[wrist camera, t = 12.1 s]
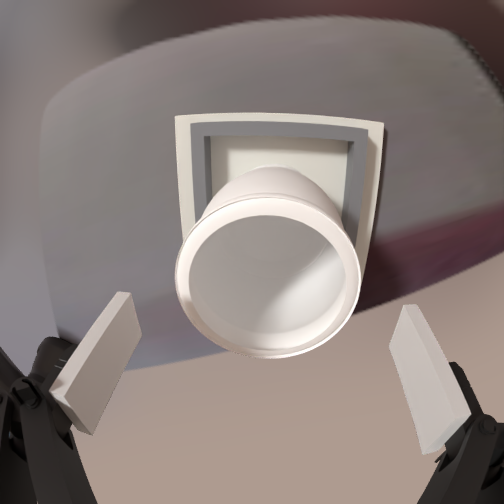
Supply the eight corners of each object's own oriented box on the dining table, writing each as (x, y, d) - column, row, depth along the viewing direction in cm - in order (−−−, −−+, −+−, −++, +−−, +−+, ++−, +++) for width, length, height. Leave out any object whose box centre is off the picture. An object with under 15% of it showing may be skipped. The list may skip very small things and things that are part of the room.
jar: (314, 260, 31) (331, 367, 18) (218, 245, 32) (175, 345, 18) (335, 162, 27) (387, 216, 13) (227, 145, 27) (173, 183, 14)
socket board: (190, 272, 35) (181, 289, 32) (178, 115, 27) (165, 116, 24) (358, 280, 33) (365, 298, 30) (379, 122, 25) (393, 124, 22)
